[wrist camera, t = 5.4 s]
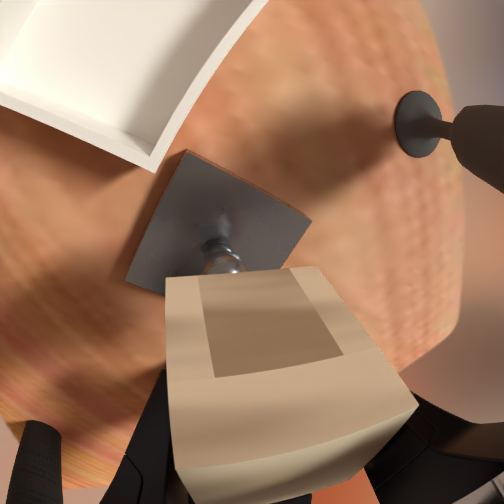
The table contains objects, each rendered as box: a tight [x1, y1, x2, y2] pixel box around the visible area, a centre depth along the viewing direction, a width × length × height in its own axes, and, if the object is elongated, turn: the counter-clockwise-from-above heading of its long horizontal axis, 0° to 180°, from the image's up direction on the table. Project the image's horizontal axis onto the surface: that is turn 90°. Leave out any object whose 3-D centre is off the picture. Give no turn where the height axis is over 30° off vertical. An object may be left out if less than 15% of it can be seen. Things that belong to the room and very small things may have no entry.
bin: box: [0, 0, 269, 173], centre depth 8 cm, size 12×12×4 cm
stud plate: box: [125, 149, 312, 296], centre depth 15 cm, size 8×8×5 cm
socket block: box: [165, 266, 419, 504], centre depth 8 cm, size 5×5×6 cm
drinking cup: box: [6, 421, 63, 504], centre depth 14 cm, size 8×8×20 cm
